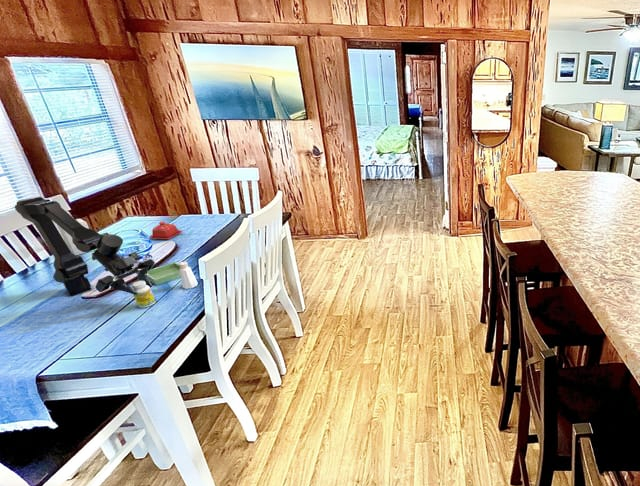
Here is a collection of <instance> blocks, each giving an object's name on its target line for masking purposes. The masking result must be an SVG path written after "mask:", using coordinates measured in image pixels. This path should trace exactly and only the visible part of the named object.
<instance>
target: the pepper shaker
mask: <svg viewBox="0 0 640 486" xmlns="http://www.w3.org/2000/svg"><path fill="white" fill-rule="evenodd" d="M178 264H179V266H180V270H179V272H180V277H179V278H180V282H181V286H182V288H183V289H185V290H188V289H194V288H196V287H198V284H199V282H198V281H197V279H196V276H195V274H194V273H193V270H192V267H190V266H189V265H188V262H187V261H181V262H179V263H178Z"/></svg>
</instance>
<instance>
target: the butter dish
mask: <svg viewBox="0 0 640 486" xmlns="http://www.w3.org/2000/svg"><path fill="white" fill-rule="evenodd" d="M158 223H159V224H157V225H156V226H155V227H153V228H152V230H151V233H152V234H151V236H149V237H150V238H151V239H153V240H169V239H172V238H174V237H175V236H177V235H179V234H181V233H183V230H179V229H178V227H177V226H176V225H175V224H173V223H166V222H165V221H160V222H158ZM150 238H149V239H150Z"/></svg>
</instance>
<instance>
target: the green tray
mask: <svg viewBox="0 0 640 486" xmlns="http://www.w3.org/2000/svg"><path fill="white" fill-rule="evenodd" d="M179 270H180V266H179V263H178V262H176V261H174V262H173V261H172V262H171V263H167V264H164V265H161V266H158V267H153V268H152V269H151V270H150V271H147V275H148V278H149V280H150V282H151V283H153V284H154V285H156V286H158V285H162V284H164V283H168V282H170V281H173V280H177V279H179V278H181V277H180V272H179Z"/></svg>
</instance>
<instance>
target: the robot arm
mask: <svg viewBox="0 0 640 486" xmlns="http://www.w3.org/2000/svg"><path fill="white" fill-rule="evenodd" d="M14 209H15V211H16V212H17V213H18V214H19V215H20V216H21V217H22V218H23V219H24V220H27V221H28V222H30V223H32V224H33V225H34V226H35V228H36V230H37V232H38V233H39V235H40V236H41V238H42V239H43V241H44V242H45V244H46V246H47V247H48V249H49V250H50V252H51V254H52V255H53V257H54V260H53V268H54V269H55V271H54V273H53V276H52V278H53V279H54V281H55V282H56V283H59V284H60V283H61V284H63V287H64V288H65V292H66V293H67V294H68V295H69V296H70V297H73V296H76V295H79V294H82V293H84V292H88V291H91V290H92V288H91V287H92V285H91V283H90V281H89V278H88V277H87V276H86V275H89V267H88V263H86V262H85V261H84V259H83V257H82V256H80V255H74V254H72V253H71V251H70V249H69V248H68V246H67V244H66V243H65V241H64V239H63V237H62V235H61V233H60V231H59V229H58V226H60V227H61V228H62V229H63V230H64V231H66V232H67V233H68V234H69V235H70V236H71V237H72V241H73V244H74V245H75V246H76V248H77V249H78V250H80V251H82V252H86V253H89V251H90V252H92V253H91V260H92V261H97V262H98V263H99V264H100V265H101V266H103V268H104V271H105V272H109V273H110V274H111V275H110V274H108V275H107V276H103V277H101V278H99V279H98V280H97V282H96V284H95V286H94V287H95V290H96V291H98V293H102V292H106V291H107V290H109V289H110V290H111V291H112V290H117V291H121V292H125V293H127V294H131V295H133V294H134V295H136V294H137V292H136V291H135V290H134V288H133V287H132V286H130V285H129V284H128V283H126V281H125V278H127V277H129V276H132V275H134V274H136V275H137V276H136V278H137V279H138V281H145V283H146V285H148V286H149V287H150V289H151V288H152V287H153V284H152V282H151V281H150V280H149V278H148V275H147V271H150V270H151V269H153V268H154V266H155V264H156V261H154V259H152V258H146V259H144V260H141V256H140V255H139V254H138V253H137V252H136V251H133V252H131V253H128V255H127V257H125V256H120V255H119V254H118V252H119V251H120V249H121V247H122V245H123V243H124V240H123V238H122V237H121V236H119V235H117V234H111V233H109V232H103V233H99V232H97V231H96V230H95V229H91V228H89V229H88V228H85V227H84V226H83V225H81V224H80V223H79V222H78V221H77V220H75V219H76V218H75V217H73V216H72V215H71V214H69V212H67V211H66V210H65V209H64V208H63V207H62V206H61V204H60V203H59V202H58V201H56V200H52V198H44V197H42V196H34V197H31V198H26V199H22V200H17V201H16V204H15V205H14ZM57 225H58V226H57ZM95 249H97V250H95ZM92 250H94V251H92ZM138 260H141V261H139V262H138ZM135 264H137V266H136V267H135ZM112 275H113V276H112ZM134 295H133V296H134Z"/></svg>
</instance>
